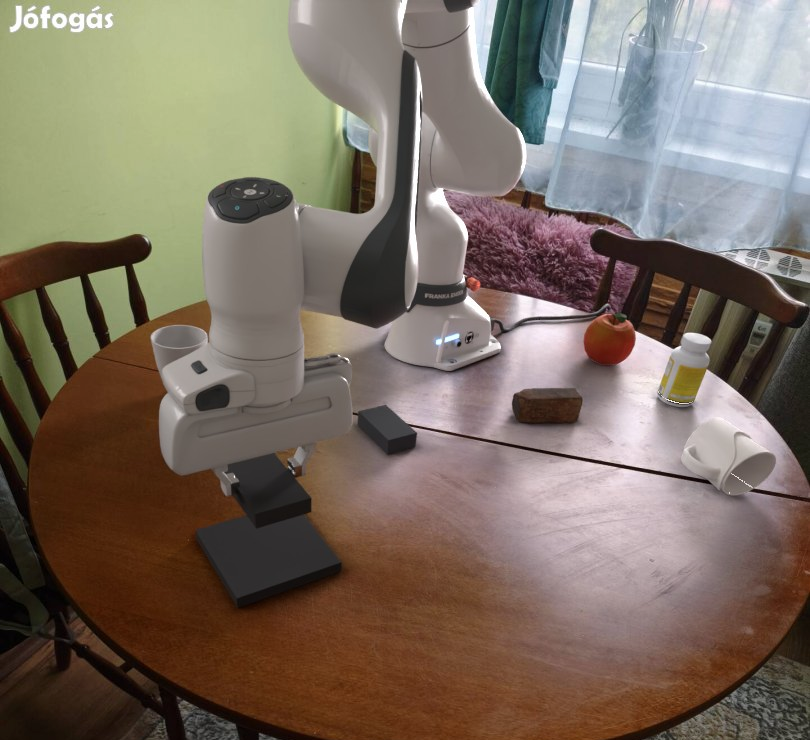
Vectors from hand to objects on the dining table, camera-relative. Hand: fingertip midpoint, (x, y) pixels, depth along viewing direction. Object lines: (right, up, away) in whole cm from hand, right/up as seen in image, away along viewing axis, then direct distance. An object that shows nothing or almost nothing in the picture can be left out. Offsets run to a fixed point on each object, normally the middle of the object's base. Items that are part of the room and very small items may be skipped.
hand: (264, 483), depth 76 cm
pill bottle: (+64, +19, +48) cm, 82 cm away
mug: (+62, +3, +29) cm, 68 cm away
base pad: (-1, -8, +7) cm, 11 cm away
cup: (-19, +16, +33) cm, 42 cm away
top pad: (+13, +10, +30) cm, 34 cm away
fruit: (+54, +28, +58) cm, 84 cm away
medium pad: (0, -1, +1) cm, 2 cm away
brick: (+38, +14, +39) cm, 56 cm away
